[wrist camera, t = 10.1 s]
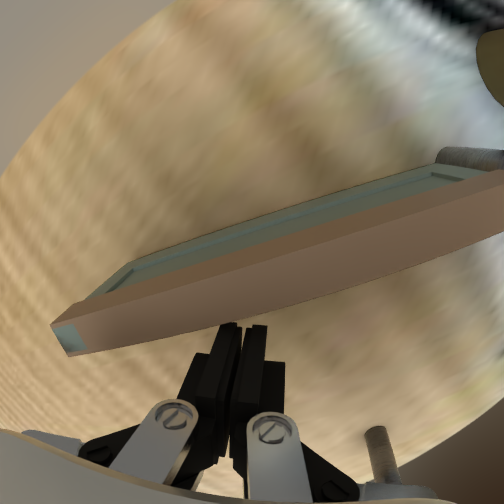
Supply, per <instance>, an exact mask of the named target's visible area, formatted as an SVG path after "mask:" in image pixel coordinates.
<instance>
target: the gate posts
mask: <svg viewBox="0 0 504 504" xmlns="http://www.w3.org/2000/svg"><path fill="white" fill-rule="evenodd" d="M436 163H439V164H445V165H452V166H458V167H464V168H470V169H476V170H481V171H486V172H491V171H494V170H498V169H500V170H504V150H495V149H483V148H468V147H445V148H443V149H442V150H441V151H440V152H439V153H438V155H437V158H436ZM365 439H366V443H367V448H368V452H369V457H370V461H371V466H372V470H373V475H374V480H375V483H383V484H395V485H402V483H401V479H400V476H399V472H398V468H397V464H396V461H395V457H394V454H393V450H392V447H391V443H390V440H389V437H388V433H387V430H386V428H385V427H383V426H376V427H373V428H371V429H369V430H368V431H367V432H366V433H365Z"/></svg>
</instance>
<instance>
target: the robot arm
mask: <svg viewBox="0 0 504 504" xmlns="http://www.w3.org/2000/svg"><path fill="white" fill-rule="evenodd" d="M267 327H268V326H265V325H254V324H253V326H252V328H246V332H245V337H244V341H243V346H242V327H237V323H234V322H229V323H225V324H221V325H220V327H219V330H218V333H217V335H216V338H215V341H214V344H213V346H212V349H211V352H210V354H204V353H196V354H195V356H194V358H193V361H192V363H191V365H190V368H189V370H188V372H187V375H186V377H185V380H184V382H183V384H182V387H181V389H180V391H179V394H178V396H177V399H168V400H164V401H161V402H159V403H157V404H156V405H155V406H154V407H153V408H152V409H151V410H150V412H149V413H148V415H147V416H146V417H145V419H144V420H143V421H142V423H141V424H138V425H135V426H132V427H130V428H127V429H124V430H121V431H118V432H115V433H112V434H109V435H105V436H102V437H99V438H96V439H93V440H90V441H88V442H86V443H82V442H81V440H80V439H75V438H70V437H64V436H59V435H54V434H50V433H45V432H41V431H36V430H26V431H23V432H22V433H19V432H15V431H11V430H7V429H1V428H0V504H456V503H453V502H448V501H444V500H438V498H437V495H436V494H435V492H434V491H433V490H431V489H430V488H428V487H424V486H412V485H395V484H383V483H373V482H366V483H365V484H358V483H356V482H355V481H354V480H353V479H351V478H350V477H349V476H347V475H346V474H344V473H343V472H341V471H340V470H339V469H337V468H336V467H334V466H333V465H332V464H330V463H329V462H327V461H326V460H325V459H323V458H322V457H321V456H319V455H318V454H317V453H315V452H314V451H313V450H311V449H310V448H309V447H307V446H306V445H305V444H303V443H302V442H301V441H300V437H299V432H298V428H297V426H296V423H295V422H294V421H293V420H292V419H291V418H290V417H288V416H286V415H285V414H284V392H285V362H276V361H265V360H264V359H265V348H266V338H267ZM241 346H242V350H241ZM229 435H230V448H229V458H233V469H234V470H235V471H236V472H237V473H238V474H239V475H240V476H241V477H242V478H243V499H241V498H232V497H225V496H218V495H212V494H206V493H201V492H195V491H196V489H197V487H198V485H199V483H200V481H201V479H202V476H203V473H204V470H205V469H207V468H209V467H211V466H213V464H217V463H218V459H219V456H220V457H225V454H226V449H227V445H228V440H229Z"/></svg>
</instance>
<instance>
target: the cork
mask: <svg viewBox="0 0 504 504" xmlns="http://www.w3.org/2000/svg"><path fill="white" fill-rule="evenodd" d="M476 56H477V64H478V67H479V71H480V74H481V76H482V79H483V81H484V83H485V85H486V87H487V89H488V90H489V91H490V93H491V94H492V96H493V97H494V98H495V99H496V100H497V101H498V102H499V103H500V104H501V105H502V106H503V107H504V29H500V30H495V31H490V32H487V33H484V34H483V35H482V36H481V37H480V38H479V40H478V44H477V47H476Z"/></svg>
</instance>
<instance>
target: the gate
mask: <svg viewBox="0 0 504 504" xmlns="http://www.w3.org/2000/svg"><path fill="white" fill-rule="evenodd" d="M503 231H504V170H500V169H498V170H494V171H491V172H486V171H481V170H476V169H470V168H464V167H458V166H452V165H445V164H439V163H435V164H431V165H428V166H424V167H421V168H417V169H414V170H410V171H407V172H403V173H400V174H396V175H393V176H389V177H386V178H383V179H379V180H376V181H373V182H369V183H366V184H363V185H359V186H356V187H353V188H349V189H346V190H343V191H340V192H336V193H333V194H330V195H327V196H323V197H320V198H317V199H314V200H311V201H308V202H304V203H301V204H298V205H295V206H292V207H289V208H286V209H283V210H279V211H276V212H273V213H270V214H267V215H264V216H261V217H258V218H255V219H252V220H249V221H246V222H243V223H240V224H237V225H234V226H231V227H228V228H225V229H222V230H219V231H216V232H213V233H210V234H208V235H205V236H202V237H199V238H196V239H193V240H190V241H187V242H184V243H182V244H179V245H176V246H173V247H170V248H167V249H165V250H162V251H159V252H156V253H153V254H151V255H148V256H145V257H142V258H139V259H137V260H134V261H131V262H128V263H127V264H126V265H124V266H123V267H122V268H121V269H120V270H118V271H117V272H116V273H115V274H114V275H112V276H111V277H110V278H109V279H108V280H107V281H105V282H104V283H103V284H102V285H101V286H100V287H98V288H97V289H96V290H95V291H94V292H93V293H92V294H90V295H89V296H88V297H87V298H86V299H85V300H84V301H81V302H77V303H74V304H73V305H72V306H70V307H69V308H68V309H67V310H66V311H65V312H64V313H62V314H61V315H60V316H59V317H58V318H57V319H56V320H55V321H53V322H52V323H51V324H50V327H51V328H52V330H53V332H54V334H55V335H56V337H57V339H58V341H59V342H60V344H61V346H62V347H63V349H64V350H65V352H66V354H67V355H68V357H72V356H78V355H84V354H89V353H95V352H100V351H105V350H110V349H115V348H120V347H125V346H130V345H135V344H140V343H144V342H149V341H154V340H158V339H163V338H167V337H171V336H176V335H180V334H184V333H189V332H193V331H197V330H201V329H205V328H209V327H213V326H217V325H221V324H225V323H229V322H233V321H237V320H240V319H244V318H248V317H252V316H255V315H259V314H263V313H266V312H270V311H274V310H277V309H281V308H284V307H288V306H291V305H295V304H298V303H301V302H305V301H308V300H312V299H315V298H318V297H321V296H325V295H328V294H331V293H334V292H338V291H341V290H344V289H347V288H350V287H353V286H356V285H360V284H363V283H366V282H369V281H372V280H375V279H378V278H381V277H384V276H387V275H390V274H392V273H395V272H398V271H401V270H404V269H407V268H410V267H412V266H415V265H418V264H421V263H424V262H426V261H429V260H432V259H434V258H437V257H440V256H443V255H445V254H448V253H450V252H453V251H456V250H458V249H461V248H463V247H466V246H469V245H471V244H474V243H476V242H479V241H481V240H484V239H486V238H488V237H491V236H493V235H496V234H498V233H501V232H503Z"/></svg>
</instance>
